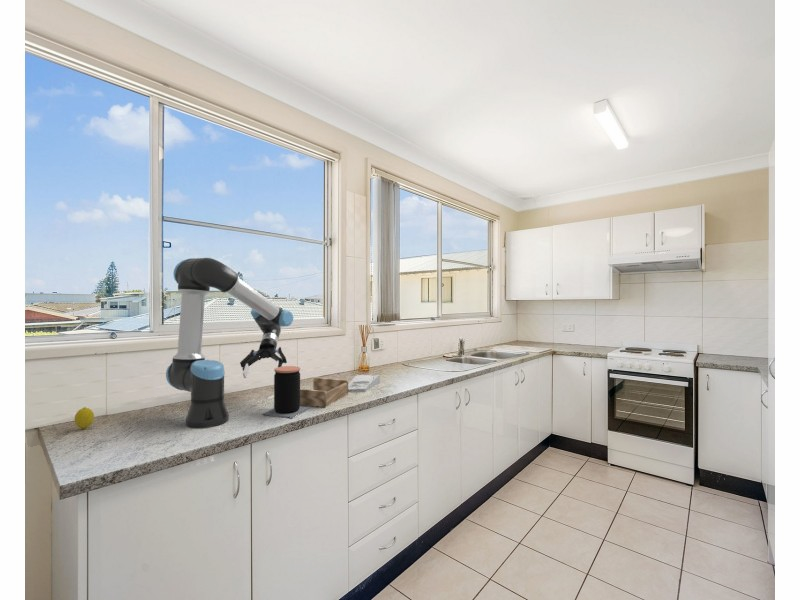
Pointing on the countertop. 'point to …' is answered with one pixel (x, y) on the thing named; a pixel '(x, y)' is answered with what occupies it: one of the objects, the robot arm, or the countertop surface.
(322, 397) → the wooden tray
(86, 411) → the lemon
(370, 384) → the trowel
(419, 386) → the countertop surface
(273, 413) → the rubber mat
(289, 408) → the coffee jar
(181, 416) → the countertop surface
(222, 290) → the robot arm
